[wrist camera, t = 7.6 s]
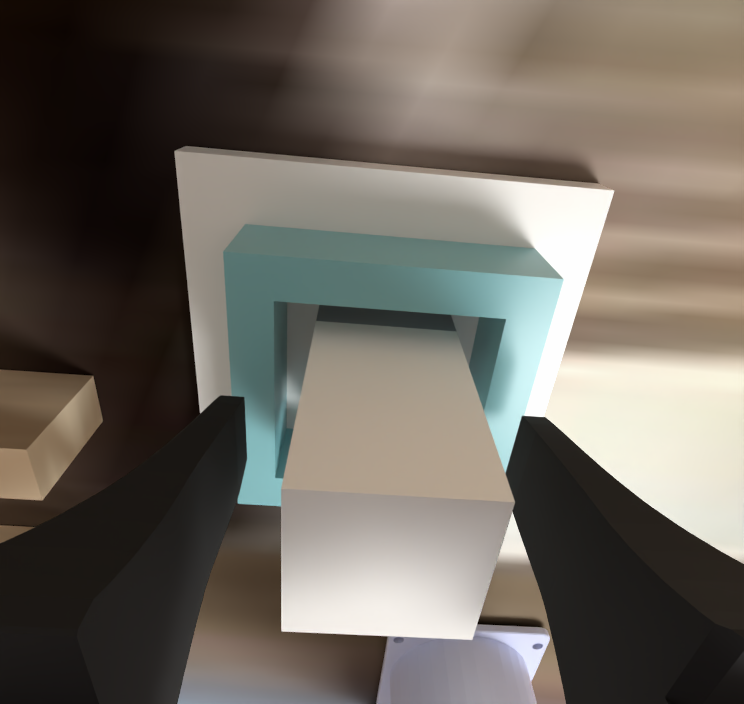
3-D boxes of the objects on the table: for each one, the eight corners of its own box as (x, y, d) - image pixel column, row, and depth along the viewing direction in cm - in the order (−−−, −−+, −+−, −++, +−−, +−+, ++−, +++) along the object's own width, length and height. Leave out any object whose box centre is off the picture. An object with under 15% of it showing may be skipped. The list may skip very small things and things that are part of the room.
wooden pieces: (133, 562, 23) (91, 651, 19) (-4, 555, 22) (-72, 644, 19) (93, 375, 18) (26, 449, 14) (-83, 363, 18) (-194, 436, 14)
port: (509, 485, 21) (534, 557, 18) (214, 467, 20) (186, 539, 17) (599, 183, 15) (660, 212, 12) (186, 145, 14) (136, 166, 11)
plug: (430, 413, 18) (472, 639, 11) (316, 406, 17) (281, 631, 10) (449, 309, 16) (515, 502, 9) (320, 299, 15) (281, 488, 8)
